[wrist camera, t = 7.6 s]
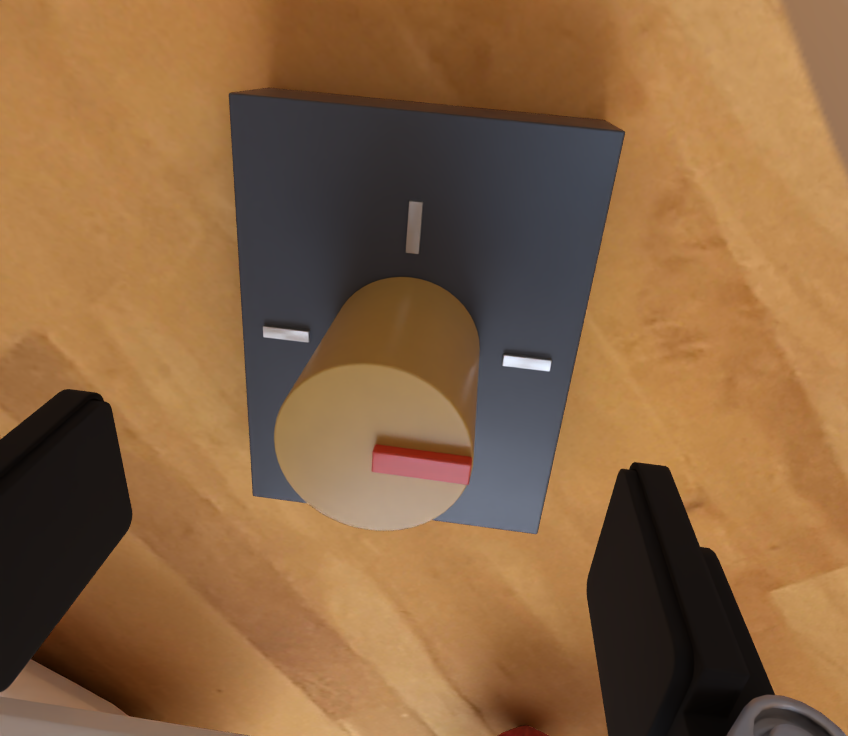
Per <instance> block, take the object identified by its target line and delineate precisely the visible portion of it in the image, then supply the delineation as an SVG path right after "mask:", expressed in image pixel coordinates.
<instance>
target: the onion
mask: <svg viewBox="0 0 848 736" xmlns="http://www.w3.org/2000/svg"><path fill="white" fill-rule="evenodd" d="M498 736H549V735H547V734H545V733H543V732H541V731H539V730H536V729H535V728H534V727H530V726H529V725H523V726H519V727H516V728H513V729H510V730H508V731H505V732H503V733H501V734H500V735H498Z"/></svg>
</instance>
